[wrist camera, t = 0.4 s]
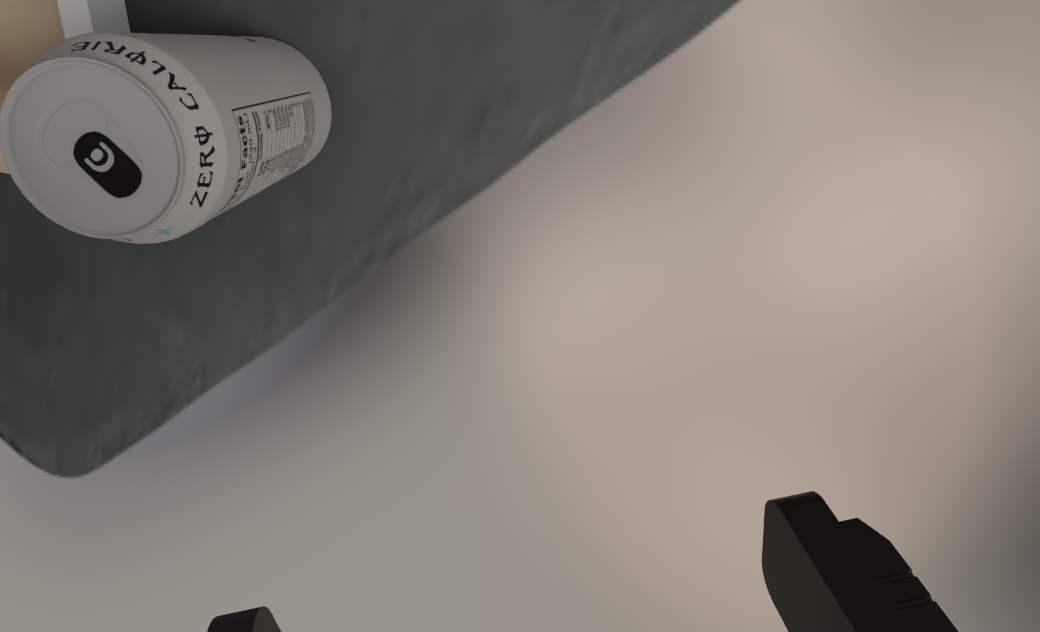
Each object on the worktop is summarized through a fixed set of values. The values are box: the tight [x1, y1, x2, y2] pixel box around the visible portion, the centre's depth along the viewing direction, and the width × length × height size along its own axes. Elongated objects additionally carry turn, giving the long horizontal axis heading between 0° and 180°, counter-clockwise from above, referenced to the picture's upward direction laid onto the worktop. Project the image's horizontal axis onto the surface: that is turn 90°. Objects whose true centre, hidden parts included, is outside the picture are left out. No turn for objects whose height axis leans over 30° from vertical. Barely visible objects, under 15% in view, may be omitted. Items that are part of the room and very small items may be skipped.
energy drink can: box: [0, 32, 332, 244], centre depth 26 cm, size 6×6×15 cm
